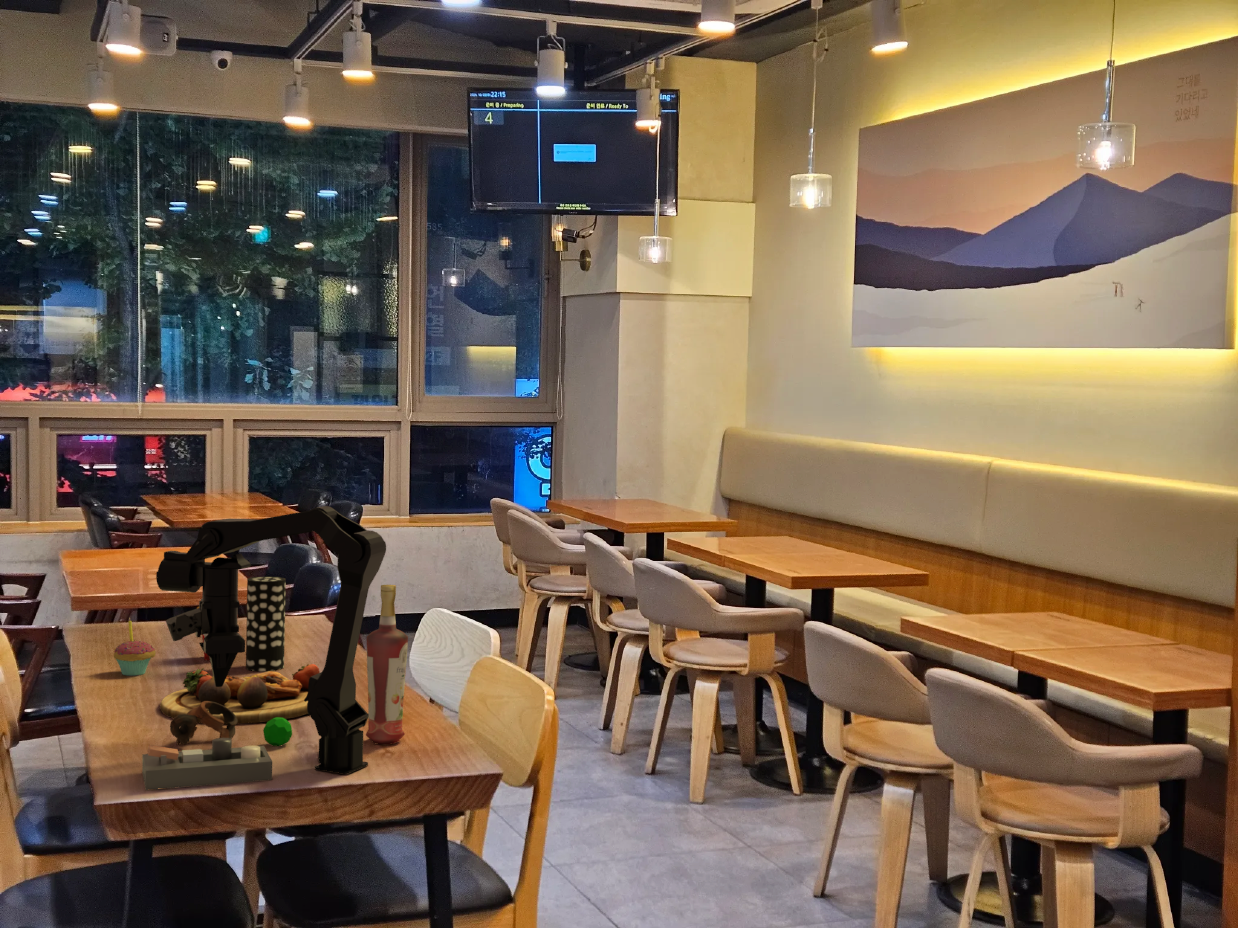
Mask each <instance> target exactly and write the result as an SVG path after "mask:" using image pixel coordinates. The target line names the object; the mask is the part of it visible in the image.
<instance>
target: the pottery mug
mask: <svg viewBox="0 0 1238 928" xmlns="http://www.w3.org/2000/svg"><path fill="white" fill-rule="evenodd" d="M206 708H208V709H209V712H208V711H207V710H206ZM220 714H223V717H224V720H225V723H227V724H226V727H223V726H224V725H225V724H224V722H223V721H222V720H220V719H218V718H216V717H214V716H213V715H220ZM197 718H199V719H201V720H200V722H201V723H200V724H203V725H205V726H206V727H208V728H211V729H213V731H215V732H218V733H219V737H218V738H230V739H233V738H234V736H235V735H236V725H238V724H237V723H238V720H237V717H236V716H235V714H234V713H233V712H232V711H231V710H229V709H228V708H226V707H225V706H223V705H221V704H218V703H216V702H212V701H203V702H201V704H200V706H199V707H196V708H193V709H192V710H190V711H189V712H188V713H187V714H179V715H177V716H176V717H174V718H172V720H171V721H170V723H169V730H170V733H171V735H172V736H173V737H175V738H176V740H175V741H176V742H175V743H176V745H177V746H180V745H181V744H184V745H187V744H188V743H189V741H190V740H189V739H192V738H194V735H195V733H196V731H197V730H198V727H197V724H198V723H197V721H198V719H197Z"/></svg>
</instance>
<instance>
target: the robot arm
mask: <svg viewBox="0 0 1238 928" xmlns="http://www.w3.org/2000/svg"><path fill="white" fill-rule="evenodd" d="M312 532H313V533H315V534H316V535H318V536H319V537H320V539H321V540H322V541H323V542H324V544H325V545H326V547H328V548H329V549H330V550H332V551H333V552H334V553H335V554H337V564H336V565H337V573H338V576H339V581H340V588H339V593H338V597H337V598H338V599H337V603H336V608H335V613H334V618H333V623H332V628H331V632H330V636H329V643H328V648H327V651H326V653H327V654H326V657H325V661H324V662H325V663H324V667H323V669H322V671H321V672H320V673H318V674H316V675H314V676H312V677H310V678H309V683H308V693H307V696H306V698H305V699H304V701H305V702H306V701H308V703H307V712H308V714H307V715H309V717H310V718H311V719H312V721H313V722H314V725H315V728H316V731H317V734H318V736H319V737H320V738H319V739H318V761H317V762H318V764H317V765H315V766H314V770H316V771H323V772H328V773H334V774H335V773H336V774H341V775H342V774H343V775H349V774H351V773H354V772H356V771H359V770H361V769H363V768H365V767H367V766H369V762H368V761H364V730H361V728H364V727H365V726H366V725H367V722H368V717H369V715H368V712H367V711H366V710H365V708H363V706H362V705H361V704H360V702H358V701H357V700H356V699H357V697H356V695H357V693H356V692H357V683H356V678H355V672H354V664H355V657H356V654H357V649H358V643H359V639H360V634H361V633H360V632H361V628H362V623H363V619H364V613H365V609H366V603H367V599H368V594H369V589H370V587H371V584H372V582H373V581H374V579H375V578H376V576H377V574H378V573H379V570H380V568H381V566H382V564H383V560H384V558H385V555H386V553H387V552H386V551H387V543H386V541H385V540H384V538H383V537H382V535H381V534H380V533H378V532H377V531H374V530H371V529H370V530H369V529H366V528H365V527H363V525H361V524H359V523H357V522H356V521H354V520H351V519H350V518H348V517H346V516H344V515H343V514H341V513H340V512H338V511H337V510H336V509H334V508H333V507H331V506H329V505H328V506H326V505H324V506H318V507H314V508H312V509H310V510H304V511H299V512H294V513H293V512H292V513H288V514H281V515H278V516H277V515H276V516H271V517H266V518H261V519H260V518H259V519H256V518H255V519H254V518H253V519H251V518H223V519H222V518H221V519H215V520H211V521H207V522H204V523H203V524H202V525H201V527H200V529H198V533H197V539H196V540H195V541H194V543H192V545H191V547H190V548H189V549H188V551H187V552H181V551H178V550H167V551H164V552H163V559H162V560H161V561H160V563H159V566H158V569H157V571H156V573H155V579H156V584H157V586H158V589H159V590H161V591H164V592H182V593H192V594H193V593H198V591H199V590H200V589H201V588H202V590H201V591H202V598H200V600H199V601H198V607H199V608H197V607H196V608H195V609H191V610H188V611H186V612H183V613H180V614H177V615H175V616H173V617H170V618H168V619H166V620H165V623H166V625H167V628H168V629H167V630H168V631H169V633H170V637H171V639H172V641H173V642H177V641H180V640H183V639H184V638H185V637H188V636H190V635H193V634H194V635H195V637H196V638H201V636H202V635H204V636H205V638H204V642H203V641H201V642H199V643H198V644H199V646H200V647H201V650H202V652H203V653H204V652H205V654H207V655H208V656H209V657H210V660H209V661H210V666H211V667H210V668H211V670H212V676H213V677H214V682H215V686H216V687H222V686H223V684H224V682H225V679H226V677H227V675H228V676H229V673H230V670H231V668H232V666H233V665H234V662H235V659H236V658H237V655H238V654H240V653H241V654H242V653H246V639H245V638H244V637H243V636H242V635H241V634H240V626H239V624H238V619H237V618H239V612H238V609H239V608H240V601H239V570H244V569H249V568H250V567H251V566H252V565H251V562H250V561H248V559H246V558H245V557H244V556H243V553H236V554H233V556H231V557H221V555H224V554H230V553H235V552H236V551H240V550H243V549H245V548H247V547H250V546H253V545H254V544H256V543H259V542H261V541H262V542H263V541H266V540H273V539H278V538H284V537H290V536H291V537H292V536H295V535H301V534H306V533H312ZM211 558H214V559H213V561H212V562H211V561H206V560H207V559H211Z"/></svg>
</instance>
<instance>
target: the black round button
mask: <svg viewBox="0 0 1238 928" xmlns="http://www.w3.org/2000/svg"><path fill="white" fill-rule="evenodd" d="M232 739H233V738H232ZM232 739H230V738H219V737H218V738H213V739H212V740H211V749H212V760H214V761H216V760H230V759H231V755H232V748H233V746H232V744H233V740H232Z"/></svg>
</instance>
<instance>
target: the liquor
mask: <svg viewBox="0 0 1238 928" xmlns="http://www.w3.org/2000/svg"><path fill="white" fill-rule="evenodd" d="M396 595H397V585H395V584H381V585H380V598H381V599H380V600H381V607H380V608H381V609H380V617H379V626H378V629H375V630H373V631H371V632H370V633H369V634H368V635H366V673H367V674H366V675H367V701H368V702H367V703H368V704H367V706H368V709H367V710H368V712H367V713H368V715H369V717H368V720H367V722H368V727H367V731H366V733H365V736H366V737H367V738H368V740H370V741H371V743H373V744H375V743H376V745H382V746H383V745H386V746H387V745H394V744H397V743H398V742H399V741H400V740H401V739H402V738H403V737H405V734H406V733H405V732H404V730H403V721H404V719H403V717H404V716H403V715H404V701H405V700H404V698H405V696H404V695H405V686H406V685H405V682H406V673H407V672H406V671H407V670H406V669H407V659H408V657H407V656H408V646H409V645H408V642H409V636H408V635H407V634H406V633H405V632H404V631H402V630H400V629H397V623H396V622H397V621H396V611H395V610H396V609H395V600H396Z"/></svg>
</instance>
